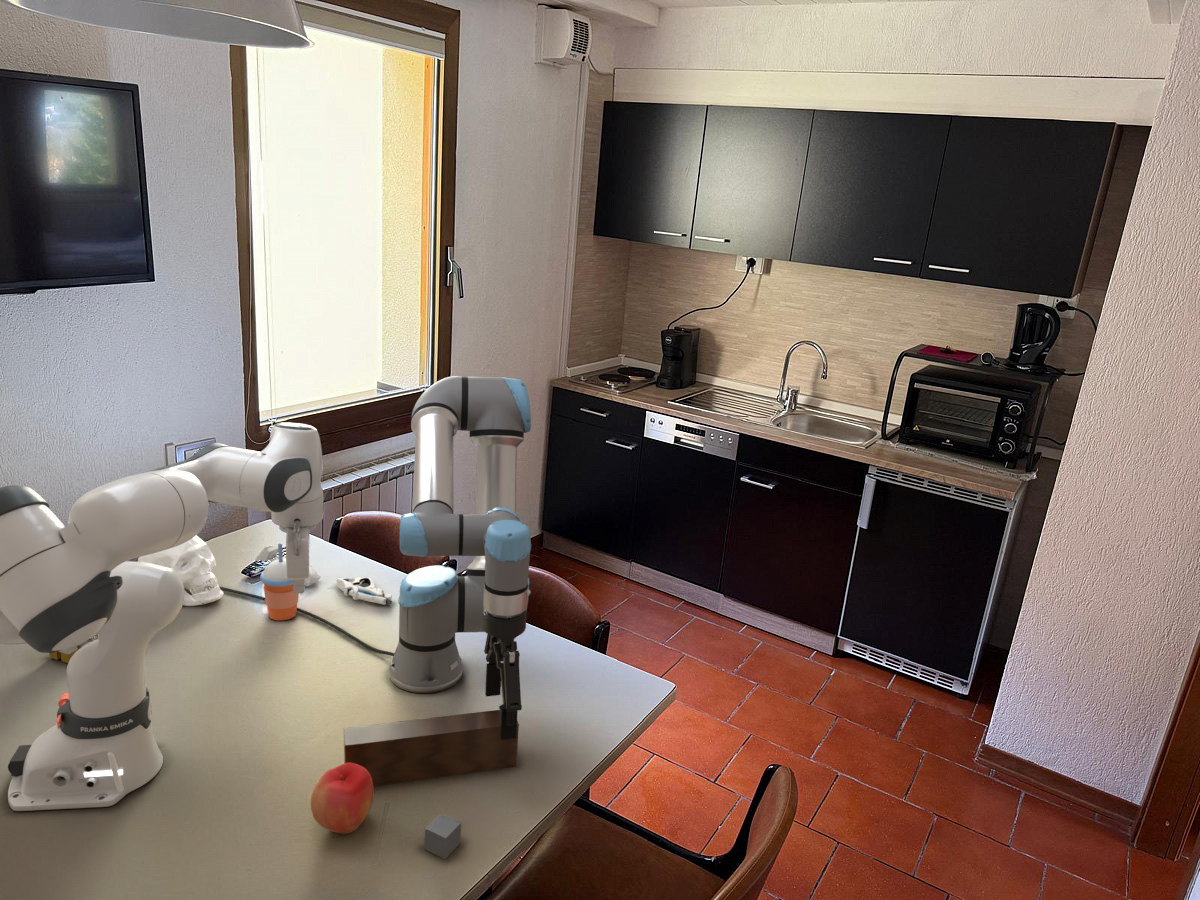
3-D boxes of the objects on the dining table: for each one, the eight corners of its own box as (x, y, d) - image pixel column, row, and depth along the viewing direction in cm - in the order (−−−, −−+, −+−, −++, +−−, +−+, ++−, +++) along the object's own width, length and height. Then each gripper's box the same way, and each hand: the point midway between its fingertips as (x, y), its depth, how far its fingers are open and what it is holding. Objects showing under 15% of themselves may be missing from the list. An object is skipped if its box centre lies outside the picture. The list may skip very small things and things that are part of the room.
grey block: (424, 849, 135) (425, 828, 134) (440, 833, 139) (440, 813, 138) (445, 859, 134) (445, 838, 132) (460, 843, 137) (461, 822, 136)
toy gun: (409, 590, 213) (380, 602, 205) (409, 599, 214) (380, 611, 205) (356, 570, 222) (326, 580, 213) (355, 579, 222) (325, 590, 214)
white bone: (253, 565, 223) (254, 542, 221) (265, 560, 226) (266, 537, 224) (309, 593, 215) (310, 569, 213) (320, 588, 218) (321, 564, 216)
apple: (348, 797, 145) (348, 747, 142) (386, 823, 140) (386, 772, 137) (300, 828, 137) (298, 775, 134) (338, 857, 132) (337, 803, 129)
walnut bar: (345, 790, 147) (344, 745, 144) (344, 771, 151) (343, 727, 148) (516, 766, 156) (518, 724, 153) (510, 749, 161) (512, 707, 158)
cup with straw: (289, 626, 196) (287, 555, 191) (253, 620, 198) (250, 548, 192) (310, 608, 205) (308, 539, 199) (275, 602, 206) (273, 533, 201)
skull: (203, 615, 198) (200, 551, 194) (126, 596, 203) (122, 534, 199) (242, 593, 210) (240, 533, 206) (168, 575, 216) (165, 517, 212)
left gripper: (316, 531, 144) (317, 605, 148) (315, 489, 163) (317, 556, 167) (276, 533, 142) (279, 608, 146) (280, 490, 161) (282, 558, 165)
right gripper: (543, 642, 138) (536, 755, 144) (511, 577, 161) (506, 676, 167) (498, 646, 136) (492, 760, 142) (471, 579, 158) (467, 680, 164)
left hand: (299, 580), depth 157 cm, fingers open, 8 cm apart
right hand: (500, 715), depth 154 cm, fingers open, 13 cm apart
